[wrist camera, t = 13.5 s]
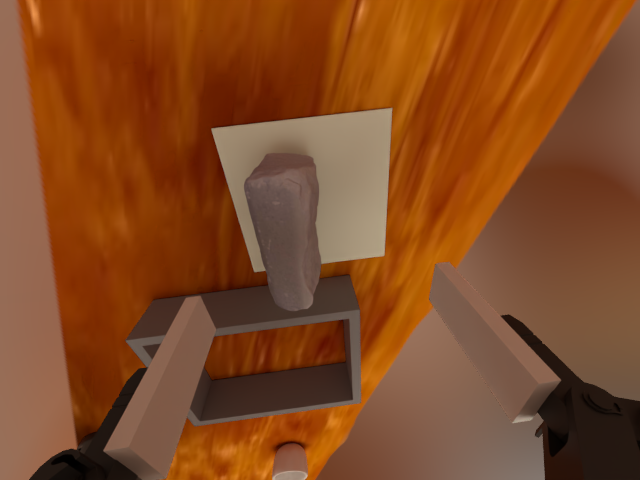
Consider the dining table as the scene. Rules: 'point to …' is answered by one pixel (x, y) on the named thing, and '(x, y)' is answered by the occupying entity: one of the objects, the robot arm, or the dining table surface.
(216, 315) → the access frame
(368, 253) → the board
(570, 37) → the dining table surface
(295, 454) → the teacup
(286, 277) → the stone block
